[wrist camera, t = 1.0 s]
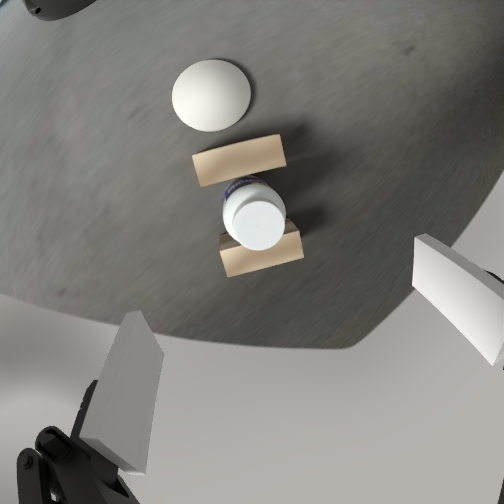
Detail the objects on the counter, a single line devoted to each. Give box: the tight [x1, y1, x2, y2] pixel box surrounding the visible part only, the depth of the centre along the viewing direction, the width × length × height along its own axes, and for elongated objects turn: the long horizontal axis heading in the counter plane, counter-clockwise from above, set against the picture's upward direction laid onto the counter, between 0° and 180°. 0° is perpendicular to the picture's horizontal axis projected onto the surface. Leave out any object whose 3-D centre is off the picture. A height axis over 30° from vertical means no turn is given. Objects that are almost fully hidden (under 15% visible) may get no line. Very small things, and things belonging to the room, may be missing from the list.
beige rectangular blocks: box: [192, 134, 304, 277], centre depth 28 cm, size 12×8×4 cm, turn 13°
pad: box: [172, 60, 251, 131], centre depth 24 cm, size 8×8×1 cm
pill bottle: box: [223, 175, 286, 250], centre depth 25 cm, size 5×5×10 cm
